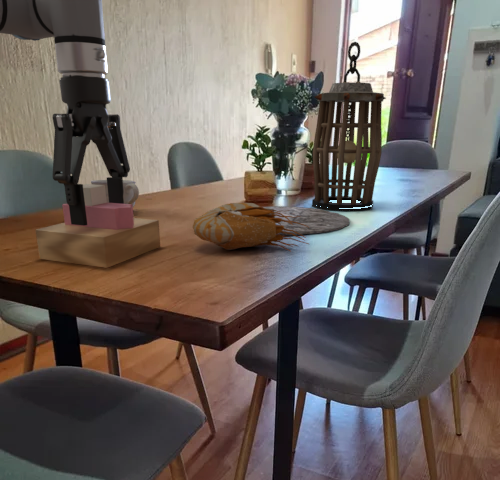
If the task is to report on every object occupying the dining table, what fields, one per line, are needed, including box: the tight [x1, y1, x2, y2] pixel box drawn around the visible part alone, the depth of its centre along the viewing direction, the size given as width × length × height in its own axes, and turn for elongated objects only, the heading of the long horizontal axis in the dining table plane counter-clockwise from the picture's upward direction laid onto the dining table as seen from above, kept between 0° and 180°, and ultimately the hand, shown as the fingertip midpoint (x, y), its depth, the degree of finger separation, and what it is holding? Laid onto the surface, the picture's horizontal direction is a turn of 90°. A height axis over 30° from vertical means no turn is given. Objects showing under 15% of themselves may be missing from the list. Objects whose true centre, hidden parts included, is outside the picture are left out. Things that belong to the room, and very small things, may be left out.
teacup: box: [90, 179, 140, 208], centre depth 127 cm, size 14×11×8 cm
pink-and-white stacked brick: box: [61, 183, 135, 230], centre depth 88 cm, size 12×5×6 cm, turn 67°
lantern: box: [311, 41, 387, 213], centre depth 133 cm, size 19×19×40 cm
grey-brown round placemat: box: [264, 205, 351, 237], centre depth 121 cm, size 33×35×1 cm
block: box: [35, 217, 161, 269], centre depth 90 cm, size 14×16×5 cm
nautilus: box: [192, 202, 311, 252], centre depth 93 cm, size 8×22×15 cm
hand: (99, 219), depth 89 cm, fingers open, 10 cm apart
